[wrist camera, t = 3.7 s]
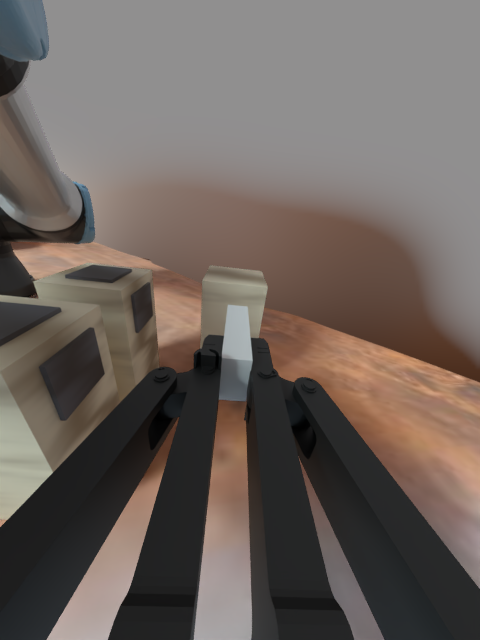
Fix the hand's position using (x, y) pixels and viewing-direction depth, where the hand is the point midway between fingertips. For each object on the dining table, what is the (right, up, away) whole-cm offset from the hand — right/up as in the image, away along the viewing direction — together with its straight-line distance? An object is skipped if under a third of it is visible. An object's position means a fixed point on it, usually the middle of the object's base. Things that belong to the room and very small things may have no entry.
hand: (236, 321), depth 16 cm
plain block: (-2, -7, +16) cm, 17 cm away
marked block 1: (-15, -8, +11) cm, 20 cm away
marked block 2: (-15, -12, +2) cm, 19 cm away
